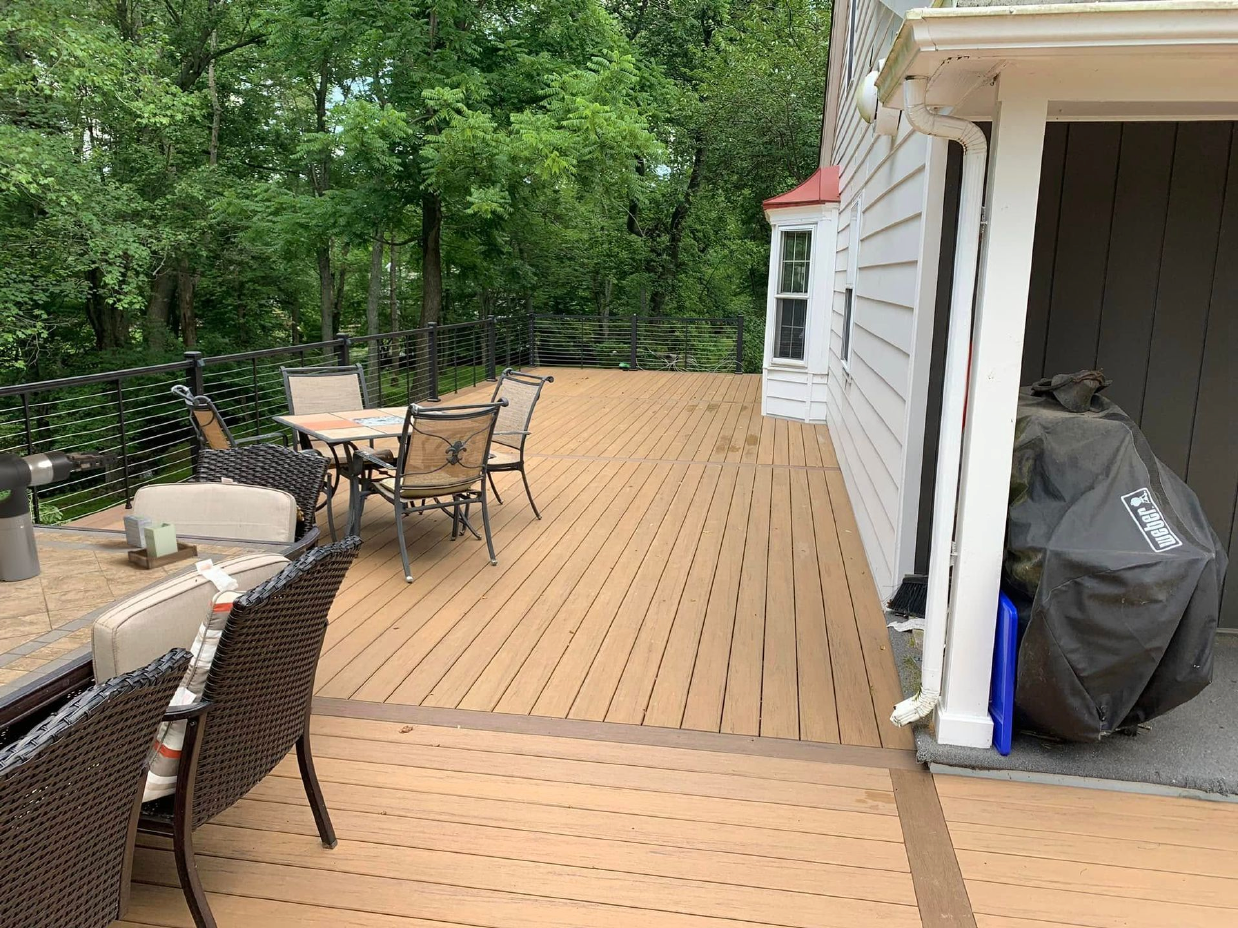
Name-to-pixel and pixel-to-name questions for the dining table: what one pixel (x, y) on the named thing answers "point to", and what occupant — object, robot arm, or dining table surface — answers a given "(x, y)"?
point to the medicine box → (136, 528)
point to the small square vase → (160, 539)
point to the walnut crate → (151, 563)
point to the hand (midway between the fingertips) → (107, 455)
